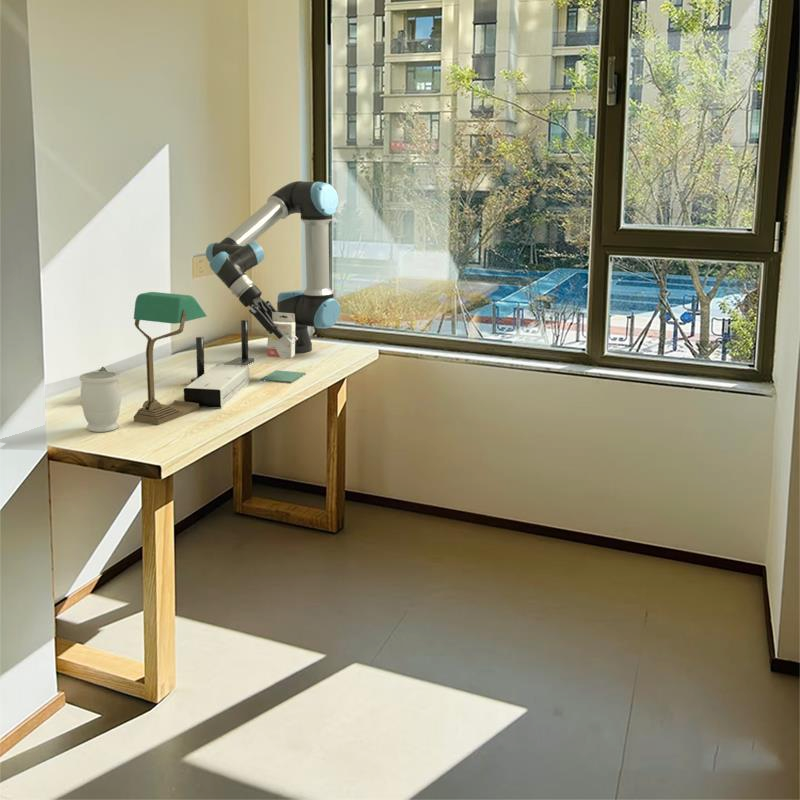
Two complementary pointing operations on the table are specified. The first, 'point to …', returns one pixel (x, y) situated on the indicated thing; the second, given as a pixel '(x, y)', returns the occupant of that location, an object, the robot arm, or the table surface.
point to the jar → (100, 400)
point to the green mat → (283, 376)
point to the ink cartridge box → (289, 329)
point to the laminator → (217, 385)
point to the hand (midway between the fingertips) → (291, 342)
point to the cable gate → (237, 361)
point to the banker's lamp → (165, 311)
